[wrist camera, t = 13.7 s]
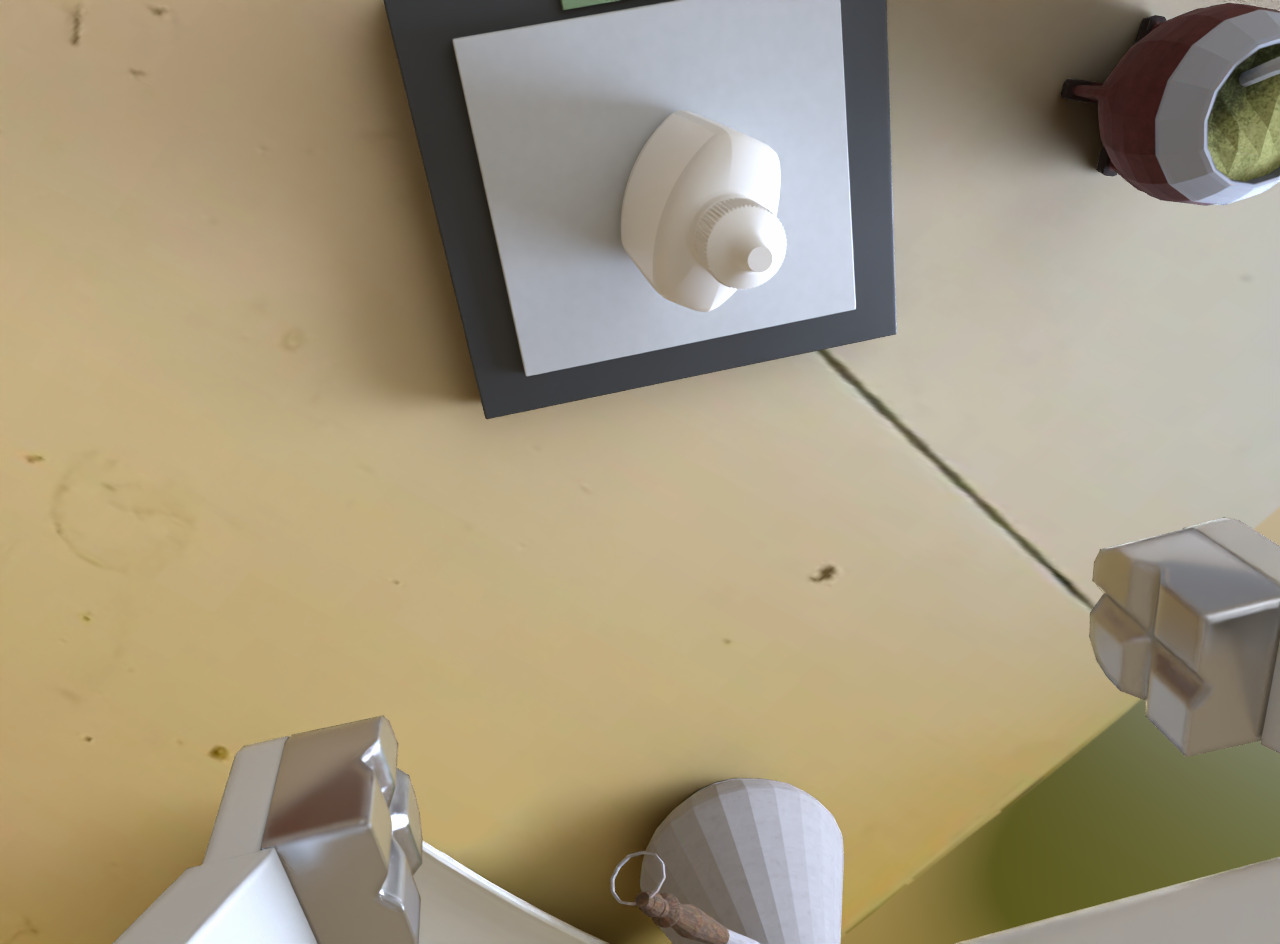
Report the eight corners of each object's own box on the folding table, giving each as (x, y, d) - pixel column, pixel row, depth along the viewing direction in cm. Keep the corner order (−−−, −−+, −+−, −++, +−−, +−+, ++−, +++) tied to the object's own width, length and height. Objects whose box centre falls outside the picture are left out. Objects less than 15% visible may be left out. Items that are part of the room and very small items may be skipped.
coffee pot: (856, 837, 57) (978, 1087, 44) (692, 930, 58) (763, 1202, 45) (683, 592, 48) (772, 817, 34) (490, 709, 49) (504, 971, 35)
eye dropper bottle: (577, 191, 36) (630, 266, 25) (694, 90, 35) (799, 122, 24) (648, 279, 38) (725, 382, 27) (760, 184, 37) (885, 253, 26)
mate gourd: (1168, 190, 43) (1491, 269, 30) (1011, 171, 41) (1278, 245, 28) (1232, 7, 40) (1623, 2, 27) (1064, -22, 38) (1391, -43, 25)
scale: (385, -5, 34) (380, -6, 32) (863, -85, 36) (891, -91, 34) (484, 402, 42) (486, 425, 39) (879, 321, 43) (903, 339, 41)
